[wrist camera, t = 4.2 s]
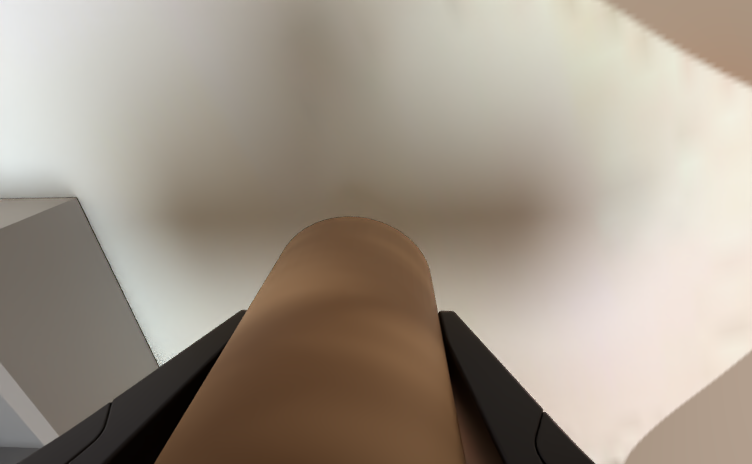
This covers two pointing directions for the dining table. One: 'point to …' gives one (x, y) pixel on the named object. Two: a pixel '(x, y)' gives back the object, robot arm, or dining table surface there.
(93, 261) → the tote
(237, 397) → the walnut cylinder
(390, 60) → the dining table surface
